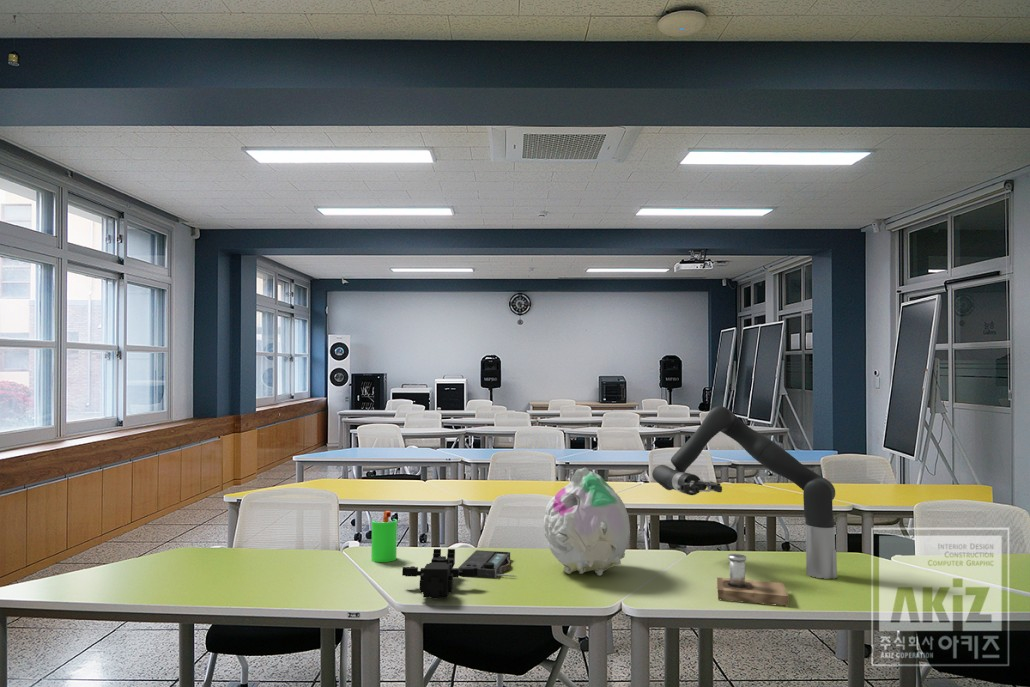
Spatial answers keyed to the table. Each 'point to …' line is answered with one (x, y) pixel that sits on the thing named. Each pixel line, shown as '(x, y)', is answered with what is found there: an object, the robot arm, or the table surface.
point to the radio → (488, 563)
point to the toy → (439, 575)
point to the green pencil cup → (384, 539)
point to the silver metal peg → (737, 570)
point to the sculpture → (587, 524)
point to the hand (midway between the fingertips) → (709, 489)
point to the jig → (753, 592)
